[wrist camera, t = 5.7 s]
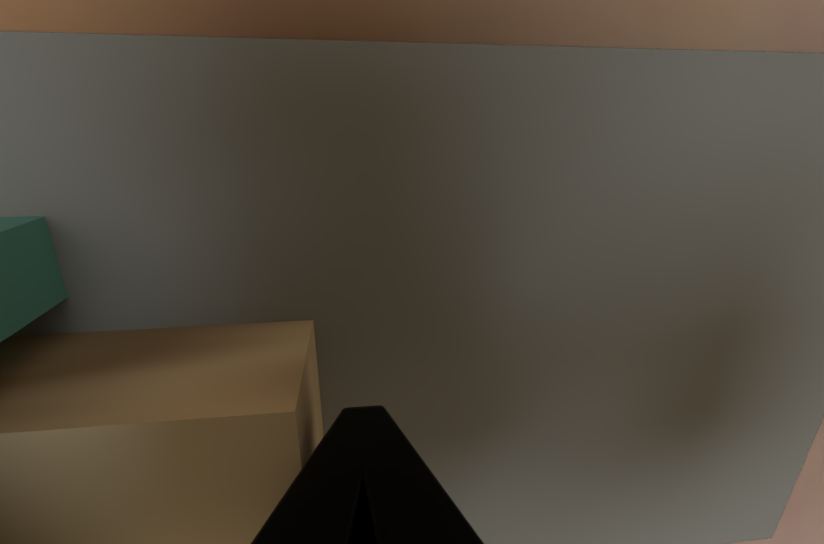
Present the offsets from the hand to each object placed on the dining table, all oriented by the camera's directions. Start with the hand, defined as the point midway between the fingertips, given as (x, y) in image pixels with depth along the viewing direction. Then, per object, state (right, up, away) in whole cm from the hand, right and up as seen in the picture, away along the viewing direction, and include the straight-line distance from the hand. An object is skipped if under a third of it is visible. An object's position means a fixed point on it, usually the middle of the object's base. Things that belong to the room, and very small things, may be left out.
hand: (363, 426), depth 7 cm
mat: (+1, +1, +2) cm, 2 cm away
